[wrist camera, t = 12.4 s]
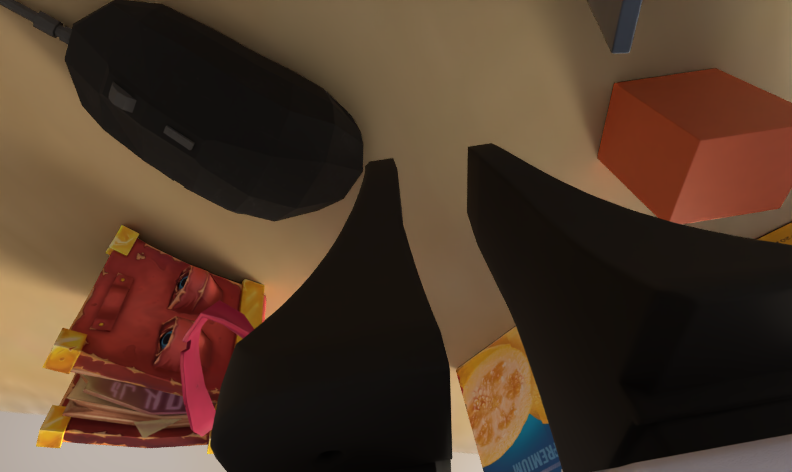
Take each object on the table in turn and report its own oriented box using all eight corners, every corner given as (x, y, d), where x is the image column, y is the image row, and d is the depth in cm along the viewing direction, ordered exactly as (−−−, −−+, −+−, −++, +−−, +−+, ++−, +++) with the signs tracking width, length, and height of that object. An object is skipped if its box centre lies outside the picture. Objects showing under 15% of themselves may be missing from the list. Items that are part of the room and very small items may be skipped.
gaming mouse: (-4, -111, 13) (-102, -111, 10) (387, 123, 20) (399, 166, 17) (-28, 64, 16) (-110, 105, 13) (321, 219, 23) (320, 270, 20)
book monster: (79, 306, 24) (162, 137, 20) (234, 350, 29) (332, 220, 24) (-35, 516, 16) (63, 308, 11) (209, 532, 20) (352, 388, 16)
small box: (716, 67, 20) (831, 120, 16) (687, 144, 23) (780, 209, 18) (613, 82, 20) (700, 140, 16) (596, 158, 23) (666, 227, 18)
